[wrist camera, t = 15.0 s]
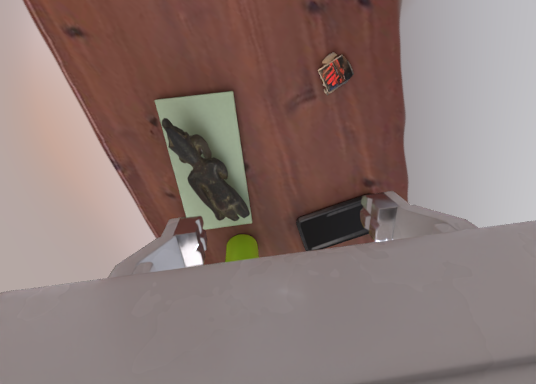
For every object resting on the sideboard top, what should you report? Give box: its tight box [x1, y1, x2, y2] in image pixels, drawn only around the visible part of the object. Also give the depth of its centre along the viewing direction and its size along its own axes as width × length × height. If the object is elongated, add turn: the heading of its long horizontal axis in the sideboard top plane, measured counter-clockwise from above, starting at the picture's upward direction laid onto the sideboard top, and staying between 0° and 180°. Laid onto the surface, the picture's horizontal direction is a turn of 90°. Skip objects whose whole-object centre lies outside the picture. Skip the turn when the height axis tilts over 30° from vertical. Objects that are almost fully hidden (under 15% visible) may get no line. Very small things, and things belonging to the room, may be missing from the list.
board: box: [155, 91, 252, 230], centre depth 41 cm, size 22×11×1 cm, turn 6°
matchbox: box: [318, 52, 354, 95], centre depth 37 cm, size 5×5×1 cm
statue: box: [162, 118, 250, 221], centre depth 38 cm, size 6×6×20 cm
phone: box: [296, 194, 369, 251], centre depth 48 cm, size 8×1×15 cm
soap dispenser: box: [225, 234, 259, 262], centre depth 40 cm, size 6×7×20 cm
